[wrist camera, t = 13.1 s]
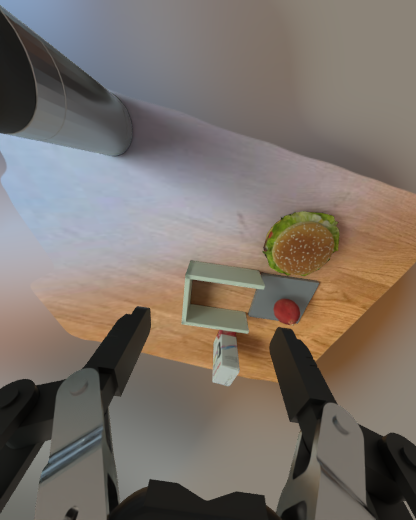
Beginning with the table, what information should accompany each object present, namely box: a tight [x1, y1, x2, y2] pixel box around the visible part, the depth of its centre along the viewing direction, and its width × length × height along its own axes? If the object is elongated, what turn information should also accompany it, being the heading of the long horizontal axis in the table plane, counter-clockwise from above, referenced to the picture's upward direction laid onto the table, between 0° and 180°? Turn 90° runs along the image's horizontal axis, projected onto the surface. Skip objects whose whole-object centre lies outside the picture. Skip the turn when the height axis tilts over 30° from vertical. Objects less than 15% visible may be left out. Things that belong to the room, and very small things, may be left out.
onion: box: [273, 299, 300, 326], centre depth 39 cm, size 6×6×8 cm
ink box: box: [213, 330, 240, 386], centre depth 46 cm, size 9×5×12 cm, turn 164°
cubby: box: [182, 261, 265, 334], centre depth 41 cm, size 17×15×6 cm
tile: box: [248, 273, 319, 323], centre depth 43 cm, size 14×14×1 cm
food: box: [262, 211, 339, 276], centre depth 32 cm, size 14×14×8 cm
